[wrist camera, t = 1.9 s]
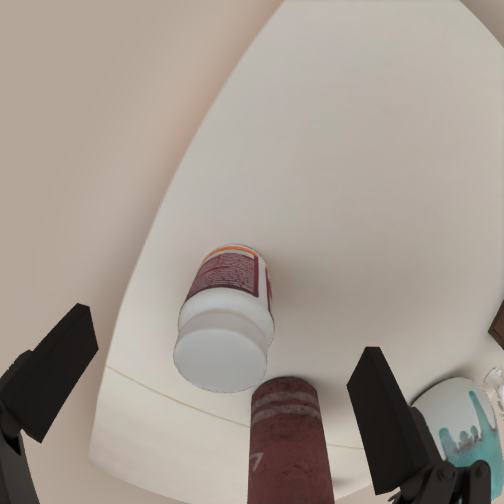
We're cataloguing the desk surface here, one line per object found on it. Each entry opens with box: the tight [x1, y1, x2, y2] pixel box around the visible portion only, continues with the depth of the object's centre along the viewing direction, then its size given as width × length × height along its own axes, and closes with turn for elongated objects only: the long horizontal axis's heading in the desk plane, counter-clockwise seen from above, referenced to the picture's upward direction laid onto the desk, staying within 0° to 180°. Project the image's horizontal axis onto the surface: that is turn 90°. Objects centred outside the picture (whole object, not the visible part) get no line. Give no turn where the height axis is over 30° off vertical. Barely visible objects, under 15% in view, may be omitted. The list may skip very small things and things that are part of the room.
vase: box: [411, 377, 504, 504], centre depth 16 cm, size 12×12×18 cm
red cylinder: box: [247, 377, 335, 504], centre depth 17 cm, size 6×6×14 cm
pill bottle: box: [173, 245, 274, 393], centre depth 15 cm, size 5×5×8 cm
